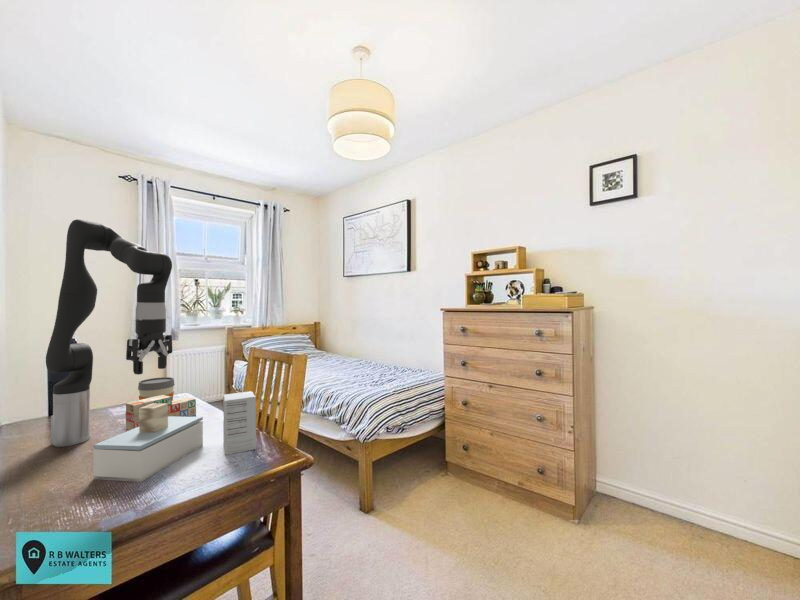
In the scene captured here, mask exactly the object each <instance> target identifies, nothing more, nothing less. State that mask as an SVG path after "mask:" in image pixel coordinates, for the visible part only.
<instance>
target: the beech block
mask: <svg viewBox="0 0 800 600" xmlns="http://www.w3.org/2000/svg"><path fill="white" fill-rule="evenodd" d="M166 427H168V403H153V404H150V405H147V406H144V407H141V408H139V432H157V431H159V430H162V429H164V428H166Z"/></svg>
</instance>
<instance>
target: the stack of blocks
mask: <svg viewBox="0 0 800 600" xmlns="http://www.w3.org/2000/svg"><path fill="white" fill-rule="evenodd" d="M153 403H168V416H175V417H197V402H196V398H193V397H188V396H186V397H182V398H177V399H173V400H172V397H171V396H165V395H160V396H155V397H150V398H146V399H142V400H139V399H138V400H134V401H133V400H132V401H128V402H126V403H125V432H127V431H129V430H132V429H134V428H137V427H139V408H141V407H144V406H147V405H150V404H153Z"/></svg>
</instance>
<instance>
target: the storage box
mask: <svg viewBox="0 0 800 600" xmlns="http://www.w3.org/2000/svg"><path fill="white" fill-rule="evenodd" d="M203 429H204V421H203V420H201V421H199V422H197V423H195V424H193V425H191V426H189V427H187V428H185V429H183V430H181V431H179V432H176V433H174V434H172V435H170V436H168V437H166V438H164V439H162V440H160V441H158V442H156V443H154V444H152V445H150V446H147V447H145V448H143V449H141V450H127V449H94V448H93V480H100V481H101V480H103V481H118V482H134V483H135V482H136V483H142V482H143V481H145V480H147V479H148V478H150V477H152V476H153V475H155V474H157V473H159V472H160V471H162V470H164V469H165V468H167V467H169V466H170V465H173V464H174V463H175V462H178V460H181V459H183V458H184V457H186V456H187V455H189V454H191V453H193V452H194V451H197V449H199V448H202V447H203V446H204V434H203V433H204V430H203Z"/></svg>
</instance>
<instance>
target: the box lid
mask: <svg viewBox="0 0 800 600" xmlns="http://www.w3.org/2000/svg"><path fill="white" fill-rule="evenodd" d="M199 421H203V416H196V417H175V416H168V427H166V428H164V429H162V430H159V431H157V432H139V427H137V428H134V429H132V430H129V431H127V432H126V431H124V432H122V433H119V434H117V435H115V436H112V437H109V438H107V439H105V440H102V441H100V442H98V443H95V444H93V450H94V449H127V450H141V449H143V448H145V447H147V446H150V445H152V444H154V443H156V442H158V441H160V440H162V439H164V438H166V437H168V436H170V435H172V434H174V433H176V432H179V431H181V430H183V429H185V428H187V427H189V426H191V425H193V424H195V423H197V422H199Z"/></svg>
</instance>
